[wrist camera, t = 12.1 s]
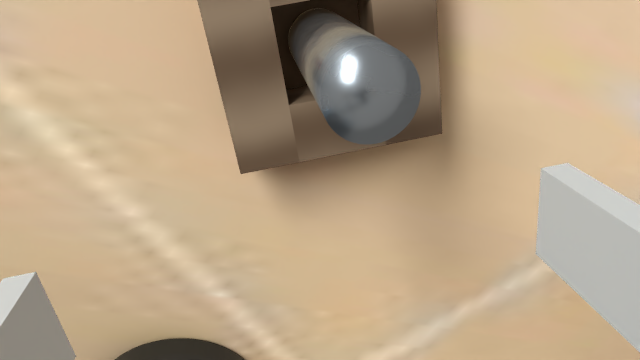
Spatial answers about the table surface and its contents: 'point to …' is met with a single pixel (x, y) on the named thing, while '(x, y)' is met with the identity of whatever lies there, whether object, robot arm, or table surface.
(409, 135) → the socket
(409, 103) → the peg
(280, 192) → the table surface
